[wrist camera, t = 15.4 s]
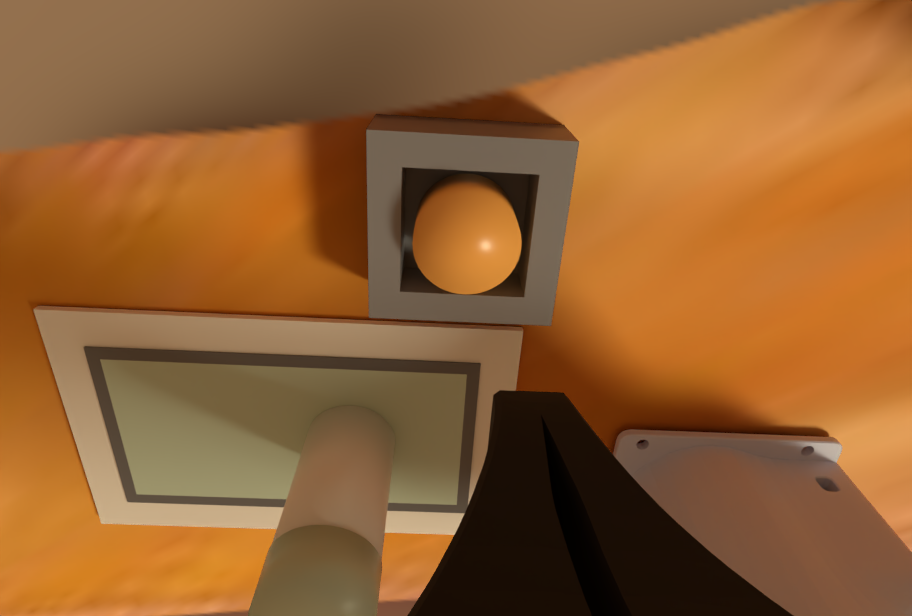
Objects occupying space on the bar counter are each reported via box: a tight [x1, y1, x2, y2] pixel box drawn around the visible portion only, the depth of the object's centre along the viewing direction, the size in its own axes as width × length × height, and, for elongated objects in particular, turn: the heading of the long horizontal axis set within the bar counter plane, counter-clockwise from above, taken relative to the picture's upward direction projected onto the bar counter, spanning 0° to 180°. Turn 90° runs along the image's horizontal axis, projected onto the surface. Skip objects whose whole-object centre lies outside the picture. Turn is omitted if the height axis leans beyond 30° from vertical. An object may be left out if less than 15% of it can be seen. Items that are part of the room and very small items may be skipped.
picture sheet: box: [33, 306, 523, 535], centre depth 24 cm, size 18×11×1 cm, turn 87°
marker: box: [248, 405, 395, 616], centre depth 21 cm, size 4×4×8 cm
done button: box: [412, 174, 522, 294], centre depth 18 cm, size 3×3×2 cm
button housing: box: [366, 114, 579, 326], centre depth 19 cm, size 6×6×2 cm
